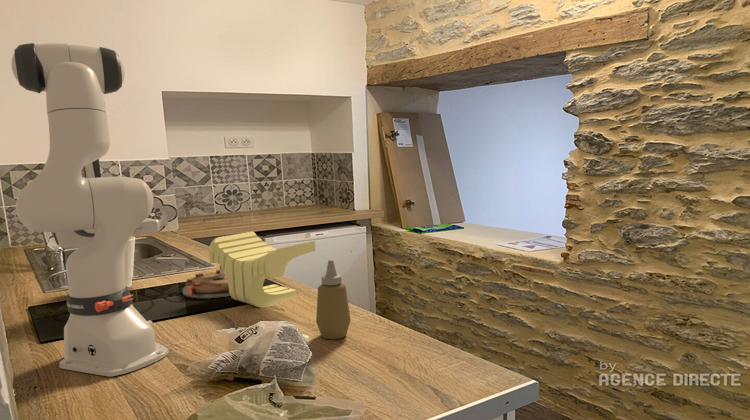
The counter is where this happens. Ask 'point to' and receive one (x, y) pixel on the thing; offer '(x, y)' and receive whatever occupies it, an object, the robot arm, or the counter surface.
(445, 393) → the counter surface
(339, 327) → the squeeze bottle
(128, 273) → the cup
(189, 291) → the base plate
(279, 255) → the slatted curved stool
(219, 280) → the brown piece
